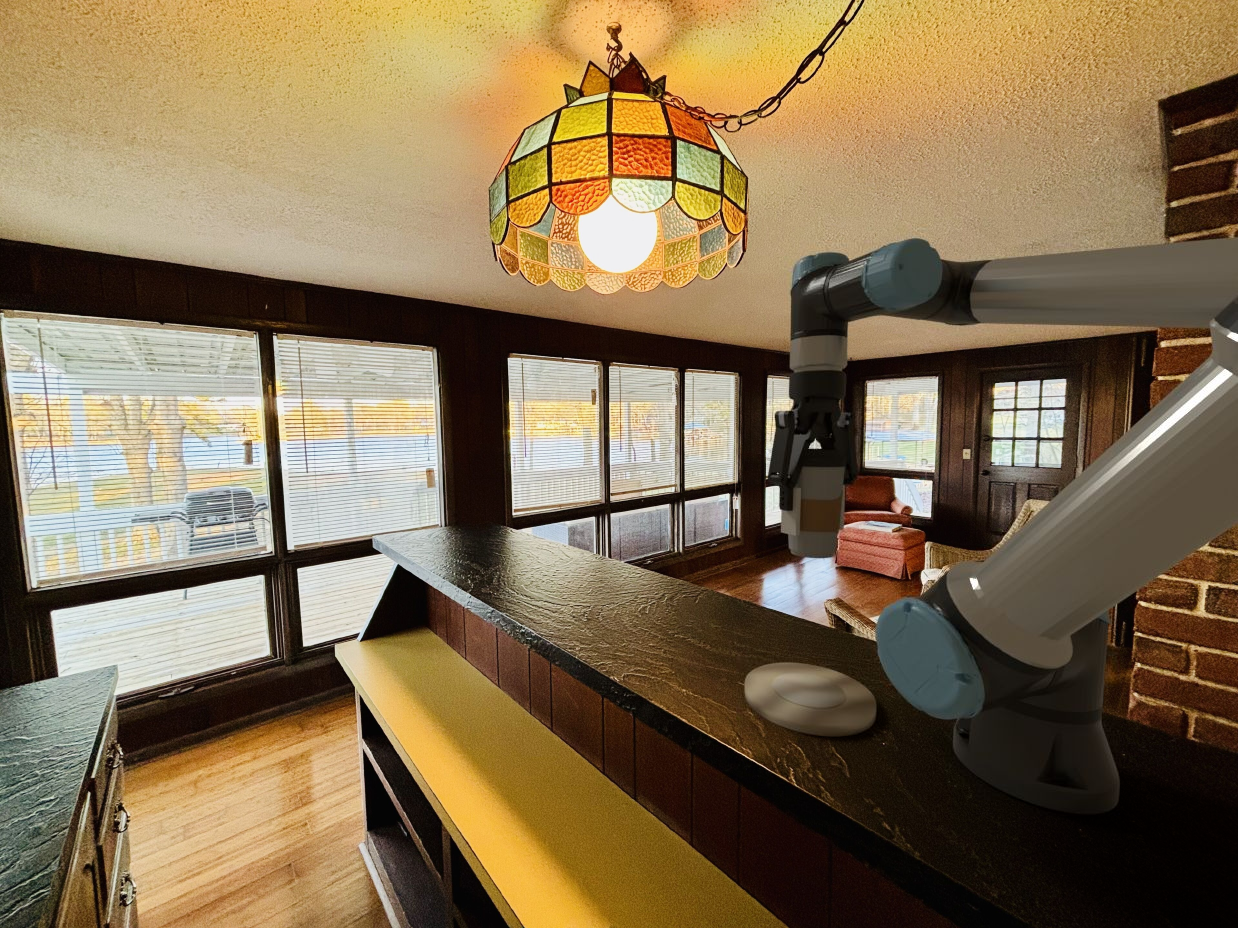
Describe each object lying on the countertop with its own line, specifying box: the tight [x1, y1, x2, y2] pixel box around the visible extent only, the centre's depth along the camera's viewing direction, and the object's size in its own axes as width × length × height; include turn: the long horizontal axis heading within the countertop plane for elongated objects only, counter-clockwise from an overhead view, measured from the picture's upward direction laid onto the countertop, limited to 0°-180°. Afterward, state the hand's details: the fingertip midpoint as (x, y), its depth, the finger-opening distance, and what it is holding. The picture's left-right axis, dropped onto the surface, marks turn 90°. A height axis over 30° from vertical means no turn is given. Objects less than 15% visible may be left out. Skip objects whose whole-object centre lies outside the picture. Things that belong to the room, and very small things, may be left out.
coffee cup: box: [787, 448, 846, 559], centre depth 74 cm, size 8×8×15 cm
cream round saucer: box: [744, 662, 877, 737], centre depth 76 cm, size 18×18×2 cm
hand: (812, 530), depth 74 cm, fingers closed on coffee cup, 8 cm apart
